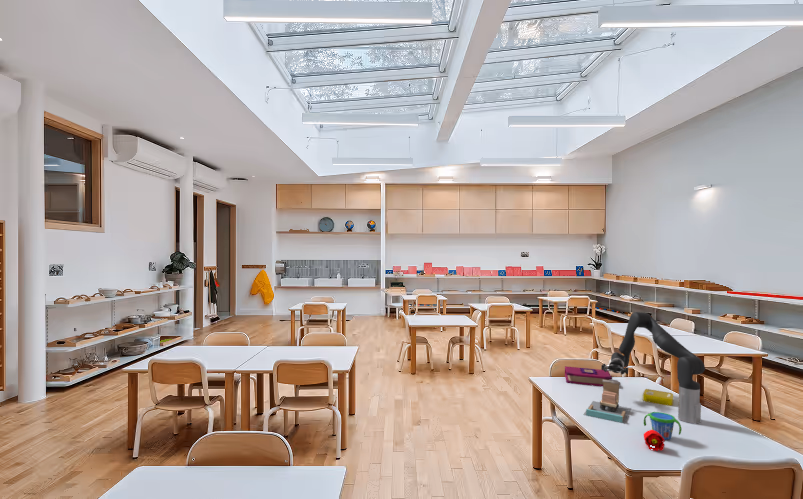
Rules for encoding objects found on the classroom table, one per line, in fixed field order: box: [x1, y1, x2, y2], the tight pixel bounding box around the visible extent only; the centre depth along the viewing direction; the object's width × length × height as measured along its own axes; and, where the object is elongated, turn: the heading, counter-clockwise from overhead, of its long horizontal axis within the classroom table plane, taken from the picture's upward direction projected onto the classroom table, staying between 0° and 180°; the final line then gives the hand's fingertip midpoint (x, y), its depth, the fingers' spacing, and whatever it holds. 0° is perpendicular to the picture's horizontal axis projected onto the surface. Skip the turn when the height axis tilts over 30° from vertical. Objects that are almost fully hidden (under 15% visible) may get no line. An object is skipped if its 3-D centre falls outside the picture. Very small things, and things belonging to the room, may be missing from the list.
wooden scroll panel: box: [599, 380, 621, 412], centre depth 248 cm, size 11×9×14 cm
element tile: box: [642, 388, 674, 407], centre depth 267 cm, size 15×15×5 cm
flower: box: [643, 429, 666, 452], centre depth 200 cm, size 8×8×8 cm
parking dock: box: [583, 400, 632, 425], centre depth 243 cm, size 28×20×4 cm
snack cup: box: [643, 411, 683, 440], centre depth 212 cm, size 16×10×10 cm
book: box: [564, 366, 613, 387], centre depth 304 cm, size 21×28×8 cm
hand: (613, 371), depth 259 cm, fingers open, 8 cm apart
